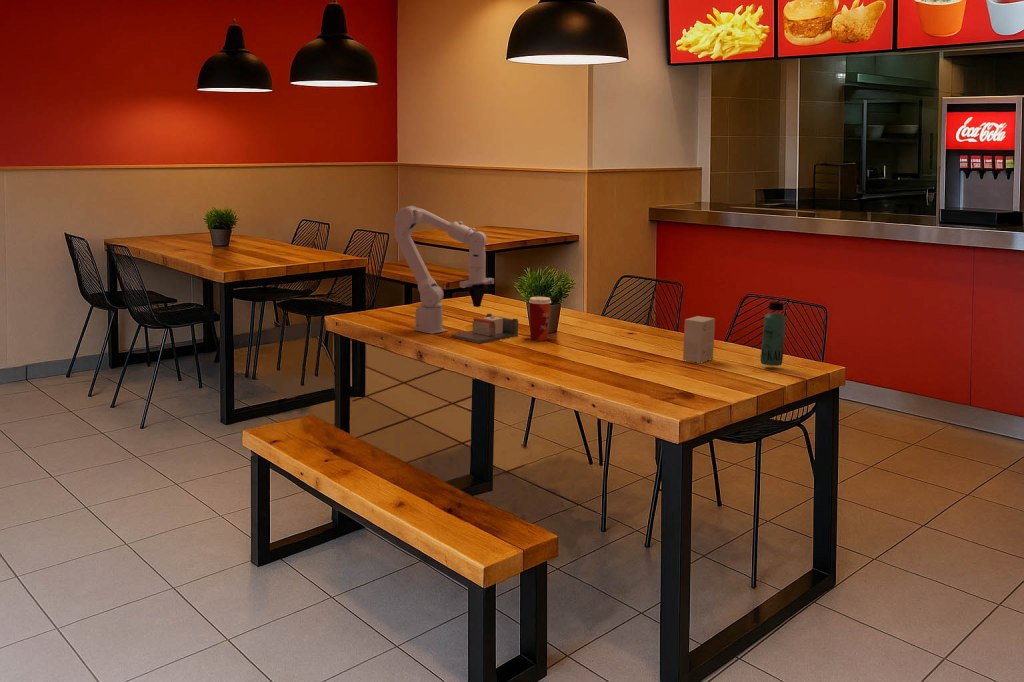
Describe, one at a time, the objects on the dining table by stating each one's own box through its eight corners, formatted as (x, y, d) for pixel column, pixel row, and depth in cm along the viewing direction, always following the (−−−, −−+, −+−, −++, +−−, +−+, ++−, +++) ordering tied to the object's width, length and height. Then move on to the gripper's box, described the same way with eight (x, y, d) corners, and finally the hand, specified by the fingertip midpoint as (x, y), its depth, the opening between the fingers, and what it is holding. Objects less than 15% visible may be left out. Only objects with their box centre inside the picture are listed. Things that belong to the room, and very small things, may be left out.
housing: (481, 332, 316) (482, 316, 315) (492, 330, 320) (492, 314, 318) (492, 334, 313) (492, 318, 312) (502, 332, 316) (502, 316, 315)
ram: (471, 332, 315) (471, 318, 314) (477, 331, 317) (477, 317, 316) (490, 336, 309) (490, 322, 308) (496, 335, 311) (496, 321, 310)
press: (451, 337, 312) (451, 319, 311) (489, 330, 325) (489, 313, 324) (480, 343, 303) (480, 325, 302) (517, 336, 316) (518, 319, 314)
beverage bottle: (764, 364, 280) (768, 299, 276) (785, 367, 276) (790, 301, 272) (756, 368, 274) (761, 302, 270) (778, 372, 271) (783, 304, 267)
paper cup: (548, 342, 307) (549, 300, 304) (525, 340, 309) (526, 299, 306) (552, 337, 315) (553, 296, 312) (530, 336, 316) (530, 295, 313)
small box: (695, 356, 289) (697, 315, 287) (713, 359, 285) (715, 318, 283) (682, 360, 283) (684, 319, 281) (700, 364, 279) (703, 321, 277)
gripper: (469, 270, 307) (469, 310, 310) (500, 266, 317) (500, 305, 320) (455, 268, 311) (455, 307, 314) (486, 264, 322) (485, 303, 325)
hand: (476, 306), depth 317 cm, fingers closed
